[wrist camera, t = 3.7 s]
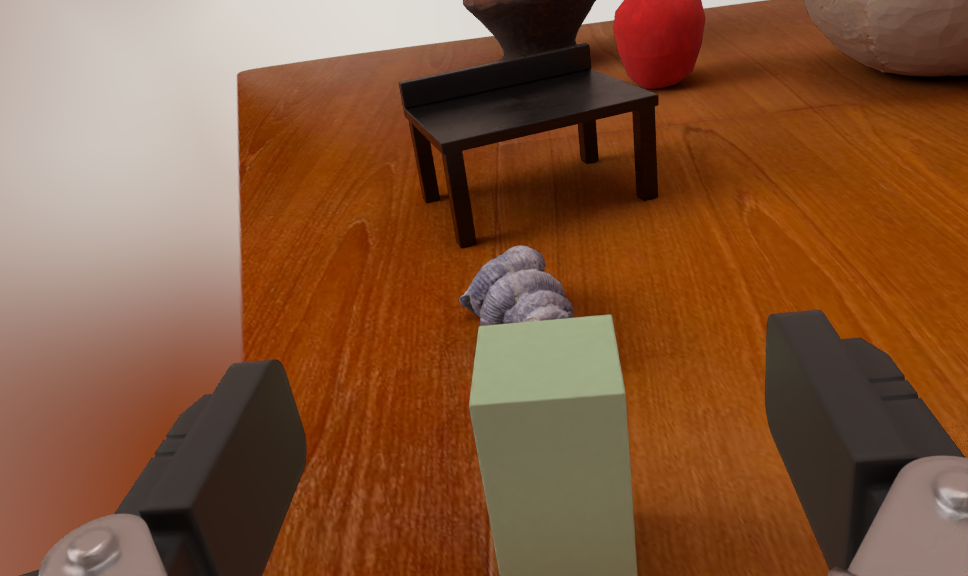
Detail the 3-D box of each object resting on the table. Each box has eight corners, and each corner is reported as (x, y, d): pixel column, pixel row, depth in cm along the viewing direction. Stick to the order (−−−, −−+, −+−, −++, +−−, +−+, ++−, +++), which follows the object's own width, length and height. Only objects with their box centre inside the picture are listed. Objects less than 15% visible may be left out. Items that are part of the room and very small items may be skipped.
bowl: (741, 80, 84) (743, -18, 79) (915, 30, 92) (926, -60, 88) (971, 126, 62) (992, -5, 57) (1171, 57, 71) (1203, -62, 66)
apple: (657, 102, 81) (653, -8, 76) (598, 90, 88) (591, -10, 83) (725, 80, 85) (725, -26, 80) (663, 70, 92) (660, -27, 87)
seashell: (485, 319, 48) (560, 405, 40) (424, 274, 45) (491, 358, 37) (542, 253, 47) (629, 326, 39) (484, 204, 44) (565, 272, 36)
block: (506, 613, 27) (468, 405, 23) (509, 517, 31) (478, 325, 27) (639, 607, 26) (626, 392, 22) (625, 510, 30) (611, 313, 26)
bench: (459, 250, 55) (436, 114, 50) (420, 198, 65) (398, 81, 60) (662, 197, 58) (657, 65, 53) (594, 156, 68) (585, 42, 64)
